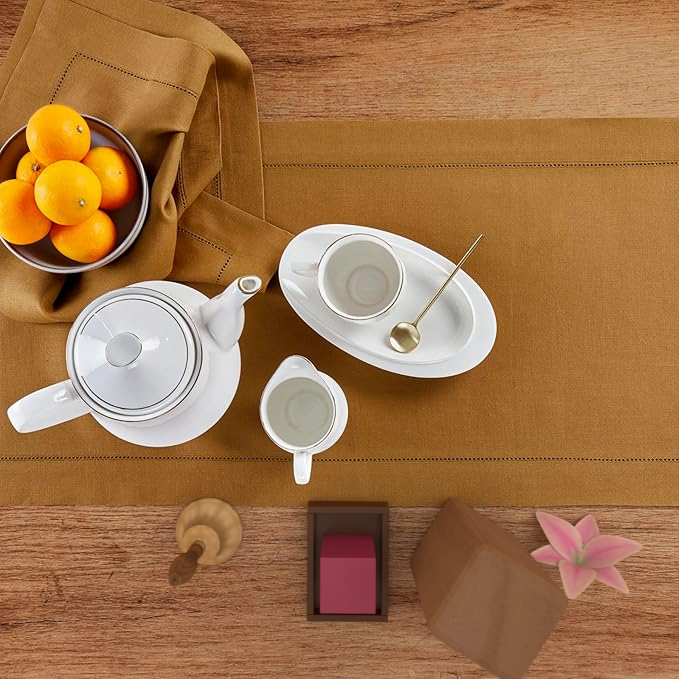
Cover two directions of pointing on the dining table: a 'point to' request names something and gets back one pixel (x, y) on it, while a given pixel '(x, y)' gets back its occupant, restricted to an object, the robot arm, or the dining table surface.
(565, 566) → the lily
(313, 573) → the tray
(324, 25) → the dining table surface
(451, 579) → the wooden block
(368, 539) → the pink block
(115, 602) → the dining table surface
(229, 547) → the hand bell
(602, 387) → the dining table surface
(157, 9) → the dining table surface
